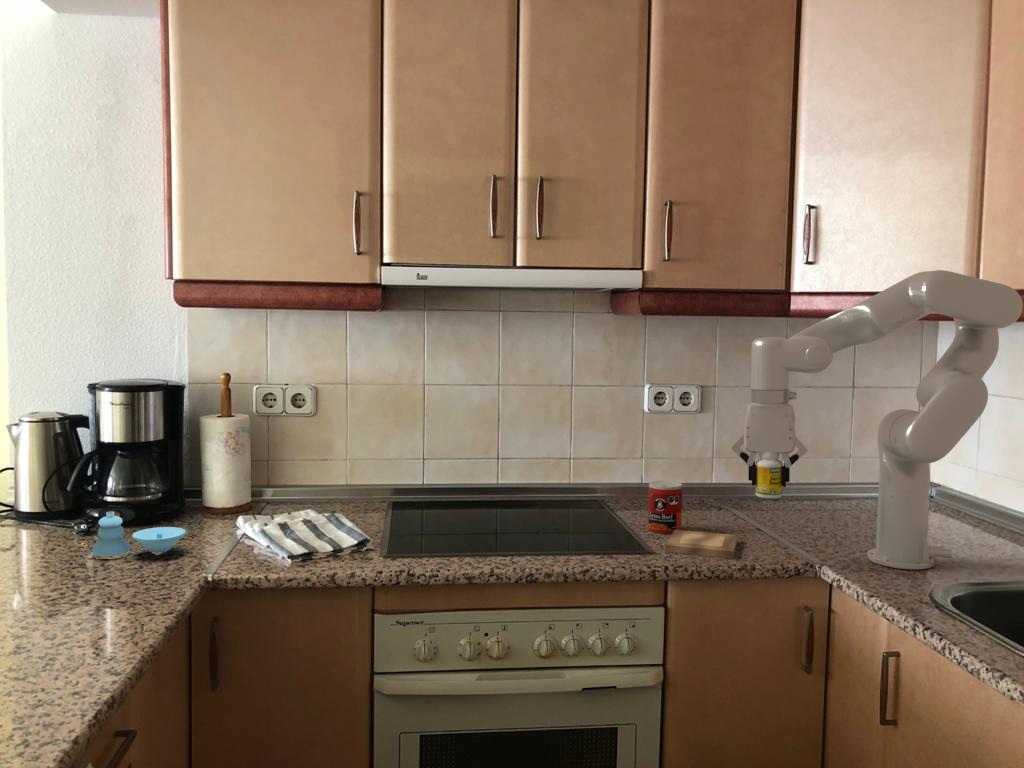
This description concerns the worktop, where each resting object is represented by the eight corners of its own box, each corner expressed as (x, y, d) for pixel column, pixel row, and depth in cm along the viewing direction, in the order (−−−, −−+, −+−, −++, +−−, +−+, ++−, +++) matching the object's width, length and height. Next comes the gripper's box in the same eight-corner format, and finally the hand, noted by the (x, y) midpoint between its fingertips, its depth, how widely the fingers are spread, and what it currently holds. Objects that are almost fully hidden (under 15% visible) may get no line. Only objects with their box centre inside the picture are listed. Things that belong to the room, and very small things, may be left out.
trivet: (737, 541, 195) (737, 534, 194) (733, 558, 181) (733, 551, 181) (674, 536, 199) (674, 529, 199) (665, 551, 186) (665, 544, 186)
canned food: (643, 531, 203) (644, 484, 202) (654, 524, 210) (655, 479, 209) (675, 535, 199) (676, 488, 198) (685, 528, 206) (686, 482, 205)
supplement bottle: (767, 492, 184) (767, 447, 183) (787, 496, 179) (788, 450, 179) (749, 495, 181) (750, 449, 180) (770, 500, 177) (771, 453, 176)
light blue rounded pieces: (190, 546, 186) (190, 504, 186) (181, 560, 176) (180, 516, 175) (101, 549, 183) (99, 507, 182) (86, 563, 173) (84, 519, 172)
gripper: (813, 396, 179) (812, 483, 181) (728, 395, 185) (727, 479, 186) (814, 400, 172) (812, 490, 174) (725, 398, 178) (724, 486, 179)
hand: (768, 483), depth 180 cm, fingers closed on supplement bottle, 5 cm apart
